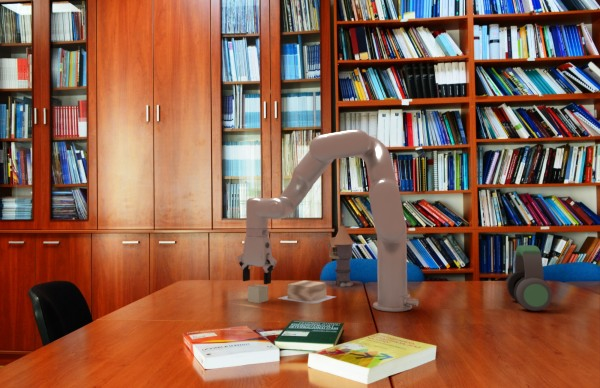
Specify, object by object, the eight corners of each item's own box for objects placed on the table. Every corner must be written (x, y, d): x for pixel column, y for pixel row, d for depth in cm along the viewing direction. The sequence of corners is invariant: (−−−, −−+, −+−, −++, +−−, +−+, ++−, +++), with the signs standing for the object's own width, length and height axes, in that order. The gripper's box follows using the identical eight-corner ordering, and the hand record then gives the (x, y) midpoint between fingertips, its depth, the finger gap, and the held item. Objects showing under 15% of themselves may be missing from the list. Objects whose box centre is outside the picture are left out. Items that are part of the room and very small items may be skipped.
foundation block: (326, 296, 180) (326, 282, 180) (310, 301, 172) (310, 287, 172) (304, 293, 186) (303, 280, 186) (287, 298, 178) (287, 284, 178)
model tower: (325, 284, 211) (324, 212, 211) (349, 282, 214) (349, 212, 214) (334, 287, 202) (333, 213, 202) (359, 286, 205) (358, 212, 205)
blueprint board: (336, 298, 180) (336, 296, 180) (314, 306, 169) (314, 303, 169) (300, 294, 190) (300, 292, 190) (277, 300, 179) (277, 298, 179)
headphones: (555, 313, 155) (554, 248, 155) (517, 312, 157) (516, 248, 157) (538, 300, 174) (538, 243, 174) (505, 299, 176) (504, 242, 176)
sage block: (268, 303, 175) (268, 285, 175) (258, 305, 171) (258, 288, 171) (257, 301, 178) (257, 284, 178) (247, 303, 174) (247, 286, 174)
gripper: (283, 233, 173) (282, 283, 173) (245, 231, 183) (245, 278, 183) (269, 235, 167) (268, 286, 167) (231, 232, 177) (231, 281, 177)
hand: (256, 282), depth 175 cm, fingers open, 9 cm apart
